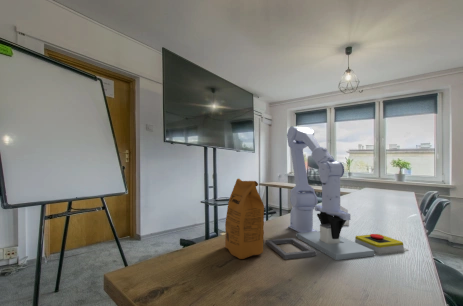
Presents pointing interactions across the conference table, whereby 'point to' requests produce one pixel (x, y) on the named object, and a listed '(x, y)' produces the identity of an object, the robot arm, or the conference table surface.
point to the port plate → (336, 246)
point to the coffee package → (244, 220)
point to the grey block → (327, 234)
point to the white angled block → (346, 212)
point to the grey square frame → (305, 253)
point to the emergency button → (380, 243)
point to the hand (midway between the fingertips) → (331, 236)
